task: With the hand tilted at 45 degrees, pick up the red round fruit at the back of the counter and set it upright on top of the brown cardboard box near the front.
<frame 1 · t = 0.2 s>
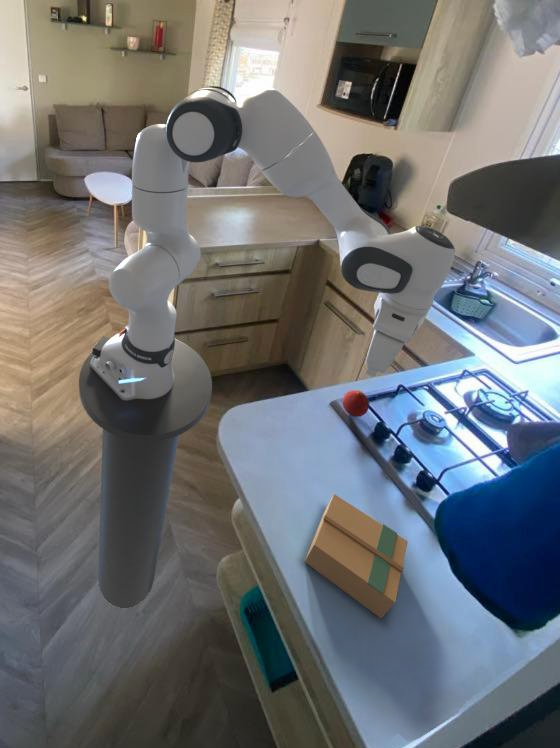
hand: (375, 360, 88), 22 cm above the counter, tool pointing down, fingers open, 8 cm apart
brown cardboard box: (350, 560, 74), on the counter
red round fruit: (350, 414, 103), on the counter
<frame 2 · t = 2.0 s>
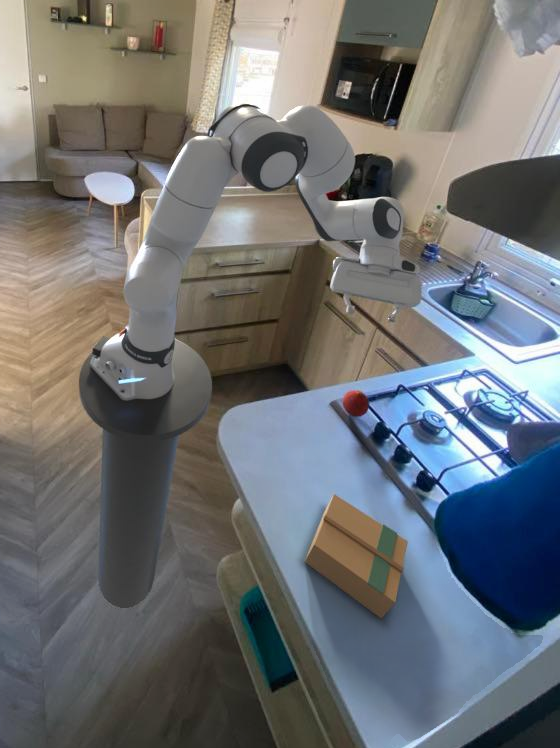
hand: (370, 317, 101), 21 cm above the counter, tool tilted 45°, fingers open, 8 cm apart
nothing on the counter moved.
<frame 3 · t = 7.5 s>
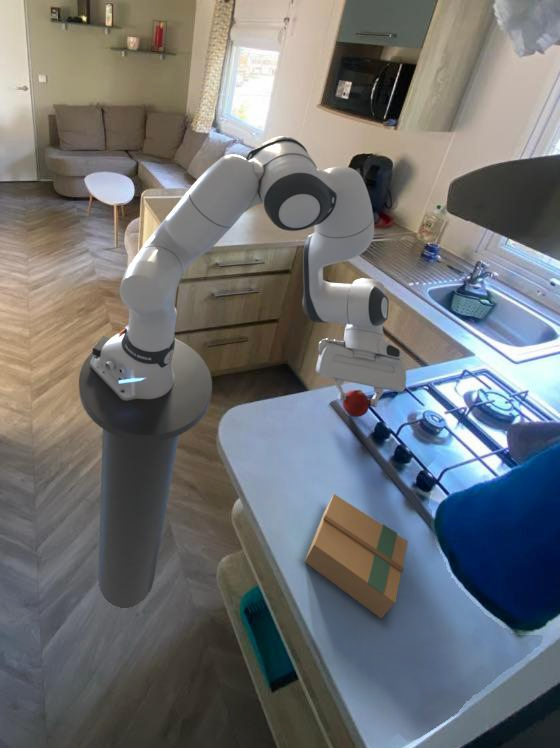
hand: (357, 403, 100), 4 cm above the counter, tool tilted 45°, fingers closed on red round fruit, 5 cm apart
red round fruit: (350, 414, 103), on the counter, touching gripper
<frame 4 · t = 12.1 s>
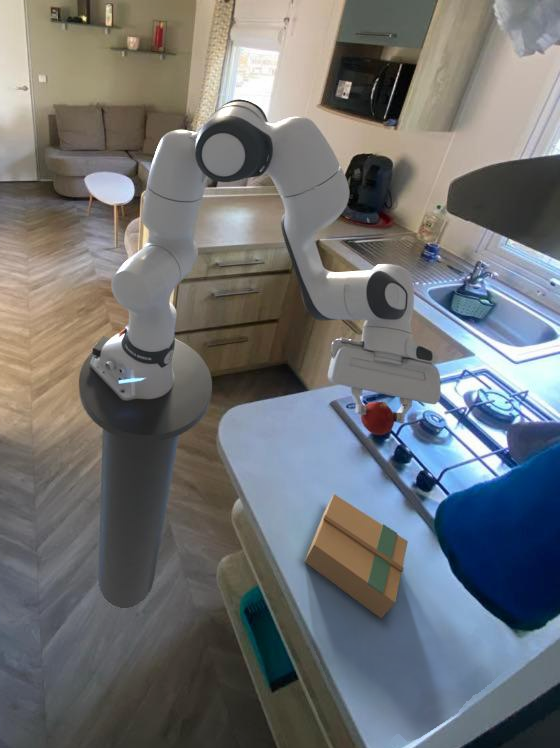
hand: (379, 418, 81), 17 cm above the counter, tool tilted 45°, fingers closed on red round fruit, 5 cm apart
red round fruit: (369, 431, 83), point 13 cm above the counter, touching gripper
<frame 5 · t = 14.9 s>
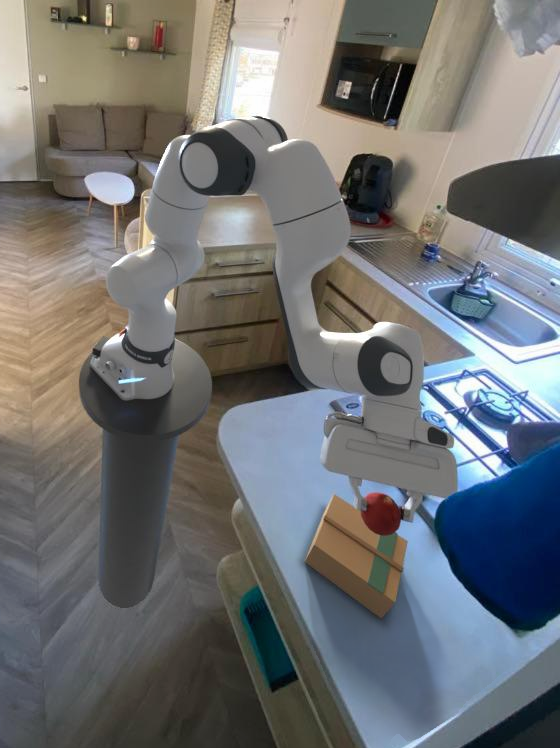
hand: (382, 515, 66), 16 cm above the counter, tool tilted 45°, fingers closed on red round fruit, 5 cm apart
red round fruit: (371, 526, 69), point 11 cm above the counter, touching gripper
when the fingers open (11 cm above the counter, at t = 16.9 s): red round fruit stays where it is, resting on brown cardboard box.
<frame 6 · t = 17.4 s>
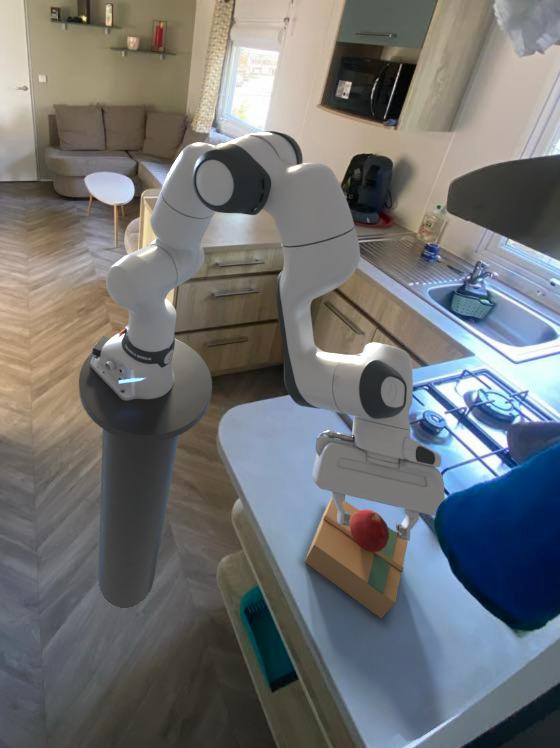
hand: (372, 531, 68), 11 cm above the counter, tool tilted 45°, fingers open, 8 cm apart
red round fruit: (361, 542, 71), point 6 cm above the counter, touching brown cardboard box
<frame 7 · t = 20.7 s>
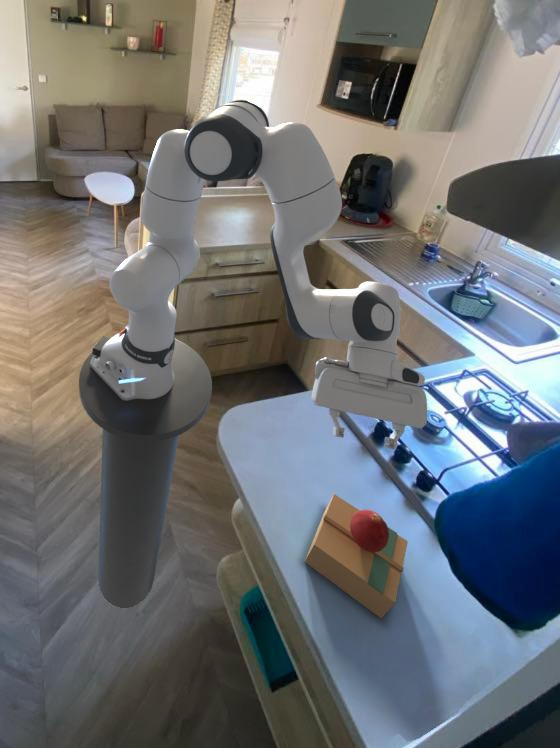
hand: (363, 442, 78), 15 cm above the counter, tool tilted 45°, fingers open, 8 cm apart
nothing on the counter moved.
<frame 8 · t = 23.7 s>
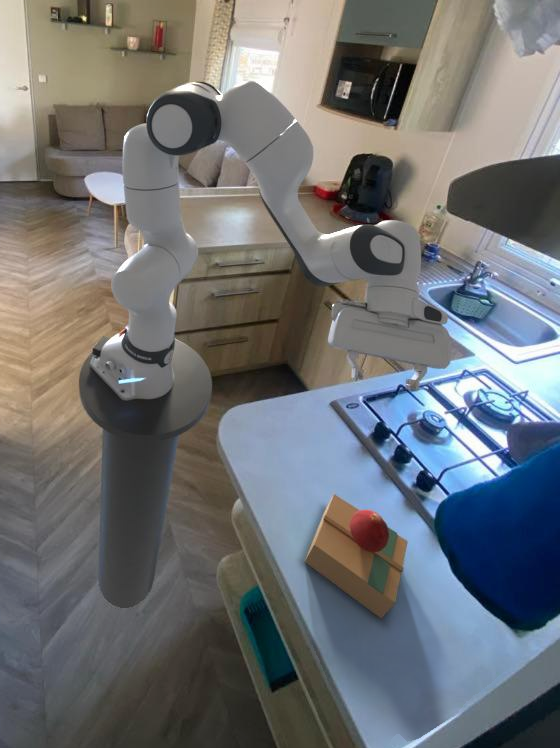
hand: (384, 384, 74), 27 cm above the counter, tool tilted 45°, fingers open, 8 cm apart
nothing on the counter moved.
at the end: red round fruit inside the target area on the brown cardboard box (0.1 cm from its centre), point 6.1 cm above the brown cardboard box's base; red round fruit tilted 0°; the gripper is holding nothing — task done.
